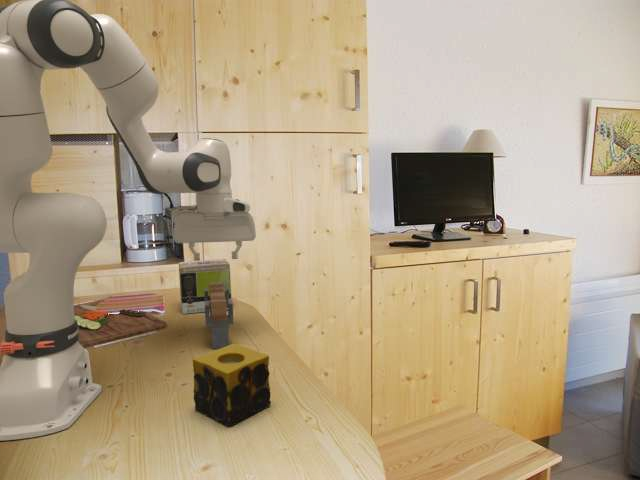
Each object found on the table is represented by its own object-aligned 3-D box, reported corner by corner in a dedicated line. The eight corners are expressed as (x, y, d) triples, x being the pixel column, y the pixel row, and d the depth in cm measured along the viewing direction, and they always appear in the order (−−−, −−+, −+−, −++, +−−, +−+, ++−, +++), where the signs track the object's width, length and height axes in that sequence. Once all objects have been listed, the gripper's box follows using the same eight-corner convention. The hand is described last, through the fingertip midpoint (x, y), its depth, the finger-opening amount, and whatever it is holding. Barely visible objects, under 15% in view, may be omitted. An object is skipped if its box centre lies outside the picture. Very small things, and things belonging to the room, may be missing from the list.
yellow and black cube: (236, 390, 95) (234, 342, 94) (272, 406, 89) (271, 354, 88) (192, 410, 88) (190, 357, 86) (229, 429, 81) (227, 372, 80)
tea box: (227, 302, 160) (226, 257, 158) (232, 310, 150) (230, 263, 148) (180, 306, 155) (178, 260, 153) (181, 315, 146) (179, 266, 144)
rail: (226, 320, 117) (226, 300, 116) (211, 322, 116) (211, 301, 115) (222, 299, 136) (222, 282, 135) (209, 300, 135) (209, 283, 134)
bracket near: (234, 347, 119) (232, 303, 117) (206, 349, 117) (204, 305, 116) (233, 341, 123) (231, 299, 121) (206, 344, 121) (204, 301, 119)
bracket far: (230, 329, 132) (229, 290, 131) (205, 331, 131) (204, 291, 129) (229, 324, 136) (228, 286, 134) (205, 326, 134) (204, 288, 133)
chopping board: (21, 316, 147) (20, 306, 146) (111, 300, 165) (111, 291, 165) (70, 356, 115) (69, 344, 114) (175, 330, 133) (174, 319, 133)
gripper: (170, 206, 116) (172, 263, 118) (255, 205, 121) (256, 259, 123) (171, 205, 122) (174, 259, 124) (253, 203, 127) (254, 255, 129)
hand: (216, 259), depth 124 cm, fingers open, 8 cm apart
